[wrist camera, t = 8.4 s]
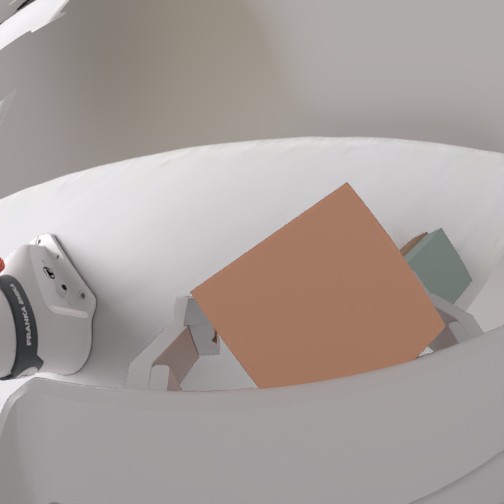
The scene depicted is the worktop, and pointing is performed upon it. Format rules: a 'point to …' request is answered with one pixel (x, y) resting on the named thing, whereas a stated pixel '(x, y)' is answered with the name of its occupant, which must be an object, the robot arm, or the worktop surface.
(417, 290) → the pillar
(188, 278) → the worktop surface
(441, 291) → the tower top
